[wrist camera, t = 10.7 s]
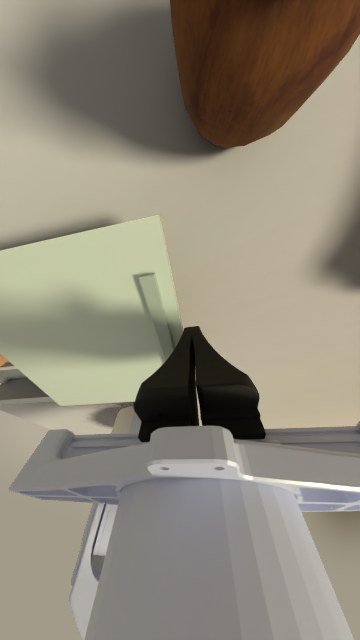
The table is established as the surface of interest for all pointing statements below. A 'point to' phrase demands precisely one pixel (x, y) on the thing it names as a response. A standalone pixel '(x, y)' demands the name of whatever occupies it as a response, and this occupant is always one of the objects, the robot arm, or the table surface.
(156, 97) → the table surface
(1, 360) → the block
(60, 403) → the lid
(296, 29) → the wooden figurine
